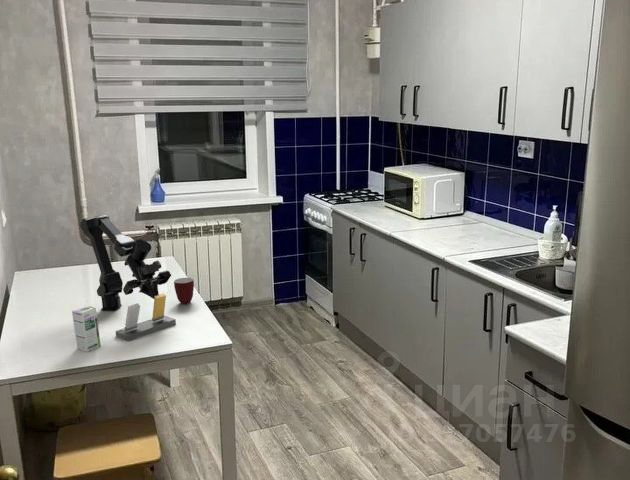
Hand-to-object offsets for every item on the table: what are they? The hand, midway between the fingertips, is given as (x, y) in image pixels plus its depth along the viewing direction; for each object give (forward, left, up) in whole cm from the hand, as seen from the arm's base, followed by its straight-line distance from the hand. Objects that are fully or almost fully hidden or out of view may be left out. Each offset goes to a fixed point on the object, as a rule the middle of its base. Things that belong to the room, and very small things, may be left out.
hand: (158, 300), depth 229 cm
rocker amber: (-1, +1, -7) cm, 8 cm away
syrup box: (-19, -20, -11) cm, 30 cm away
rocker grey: (-8, -9, -7) cm, 14 cm away
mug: (+2, +26, -11) cm, 28 cm away
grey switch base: (-4, -4, -11) cm, 12 cm away
